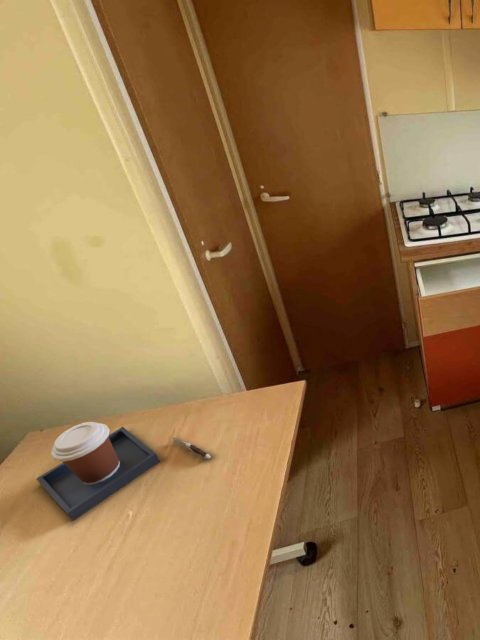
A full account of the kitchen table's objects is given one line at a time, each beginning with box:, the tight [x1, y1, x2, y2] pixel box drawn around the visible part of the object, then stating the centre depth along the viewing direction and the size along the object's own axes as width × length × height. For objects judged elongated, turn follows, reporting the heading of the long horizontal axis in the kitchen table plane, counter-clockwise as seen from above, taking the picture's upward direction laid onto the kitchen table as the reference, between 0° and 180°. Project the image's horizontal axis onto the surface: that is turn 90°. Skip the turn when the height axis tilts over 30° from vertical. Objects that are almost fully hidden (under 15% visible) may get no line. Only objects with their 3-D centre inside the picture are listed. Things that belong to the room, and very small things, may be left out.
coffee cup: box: [50, 421, 120, 485], centre depth 92 cm, size 9×9×12 cm
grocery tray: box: [36, 426, 161, 522], centre depth 94 cm, size 16×16×3 cm
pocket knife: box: [172, 437, 212, 460], centre depth 100 cm, size 14×1×2 cm, turn 67°
